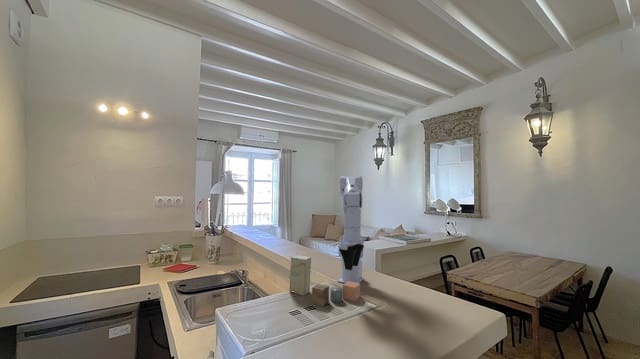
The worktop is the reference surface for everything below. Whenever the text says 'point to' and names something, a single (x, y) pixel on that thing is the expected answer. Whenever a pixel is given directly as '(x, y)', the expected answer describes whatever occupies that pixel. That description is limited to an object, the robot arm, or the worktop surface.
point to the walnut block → (320, 294)
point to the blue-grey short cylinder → (336, 294)
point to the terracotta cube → (351, 291)
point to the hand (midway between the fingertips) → (351, 267)
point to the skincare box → (300, 274)
